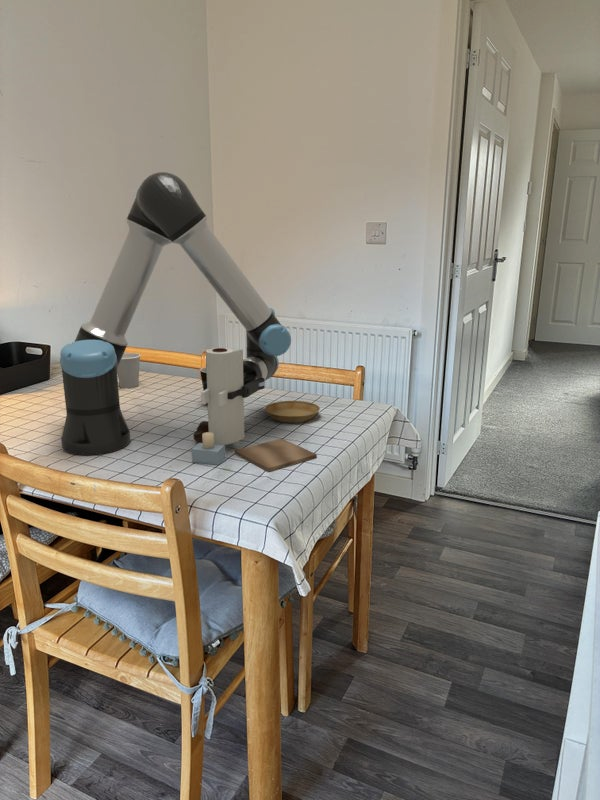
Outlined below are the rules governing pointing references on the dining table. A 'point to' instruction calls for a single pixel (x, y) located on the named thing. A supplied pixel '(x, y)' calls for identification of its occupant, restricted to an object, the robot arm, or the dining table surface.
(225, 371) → the paper towel roll
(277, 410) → the plant saucer
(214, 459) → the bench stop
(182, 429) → the dining table surface
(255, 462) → the board
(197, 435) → the dark brown knobby rod
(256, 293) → the robot arm
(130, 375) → the dixie cup
